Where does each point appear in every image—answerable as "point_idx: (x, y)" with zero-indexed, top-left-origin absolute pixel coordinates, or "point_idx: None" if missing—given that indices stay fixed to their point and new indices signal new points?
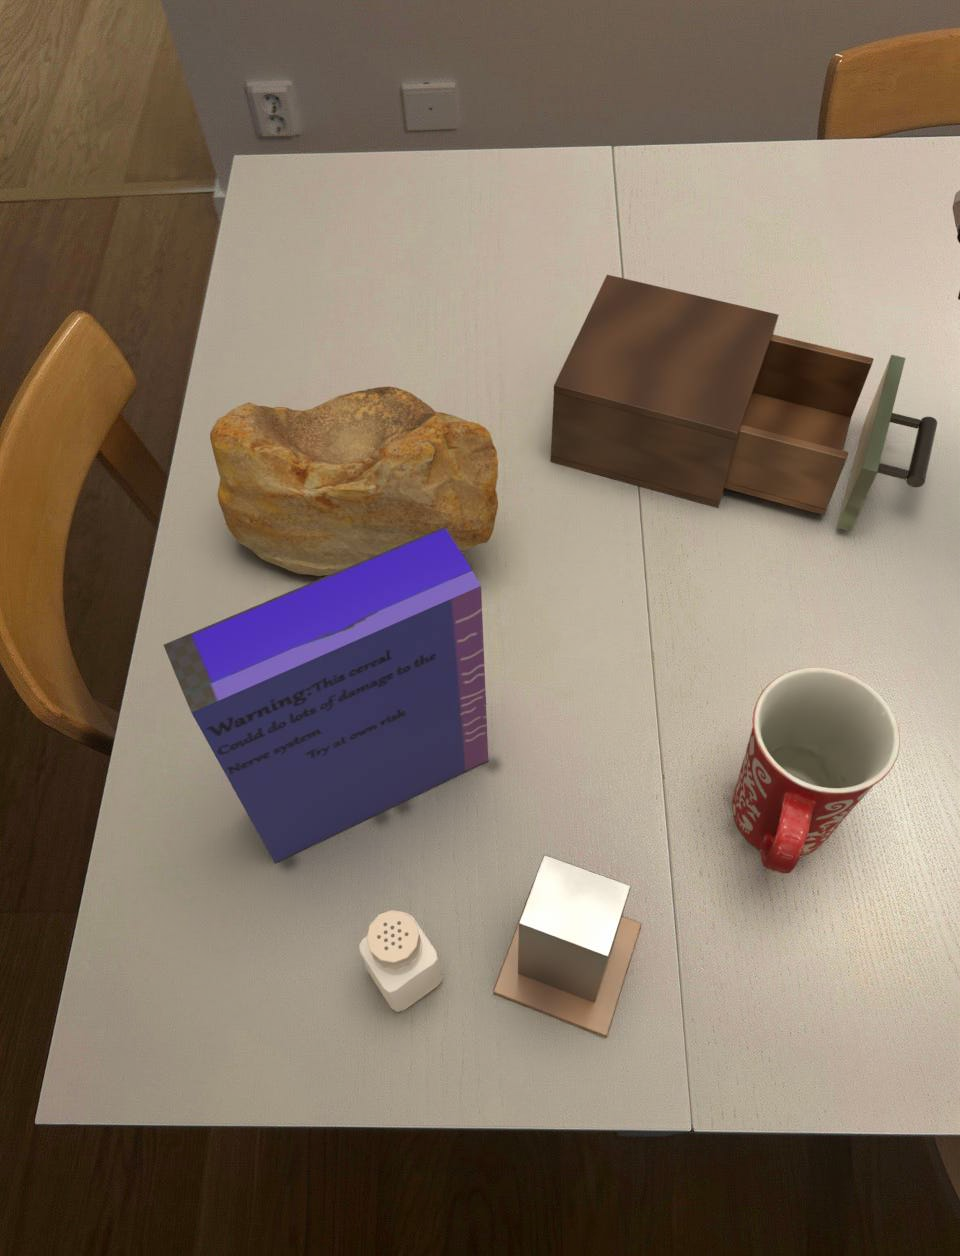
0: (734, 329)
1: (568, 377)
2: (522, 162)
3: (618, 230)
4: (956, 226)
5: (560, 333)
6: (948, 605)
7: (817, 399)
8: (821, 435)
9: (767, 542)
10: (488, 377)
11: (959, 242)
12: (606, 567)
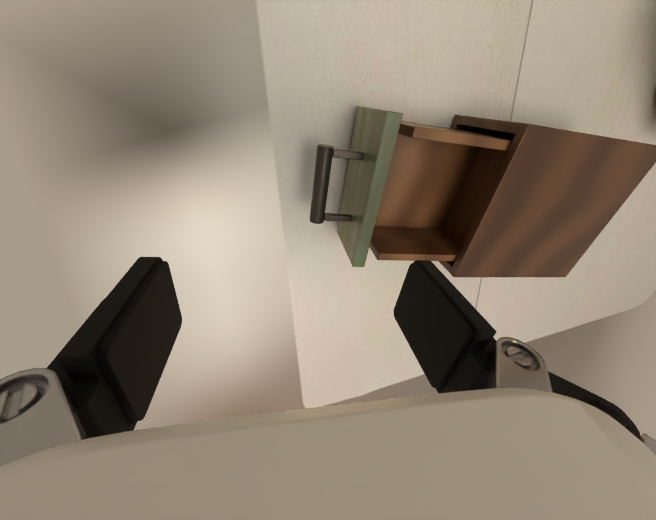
0: (492, 253)
1: (649, 161)
2: None
3: None
4: (647, 435)
5: None
6: (260, 33)
7: (389, 230)
8: (382, 201)
9: (421, 82)
10: None
11: (594, 394)
12: (561, 11)
